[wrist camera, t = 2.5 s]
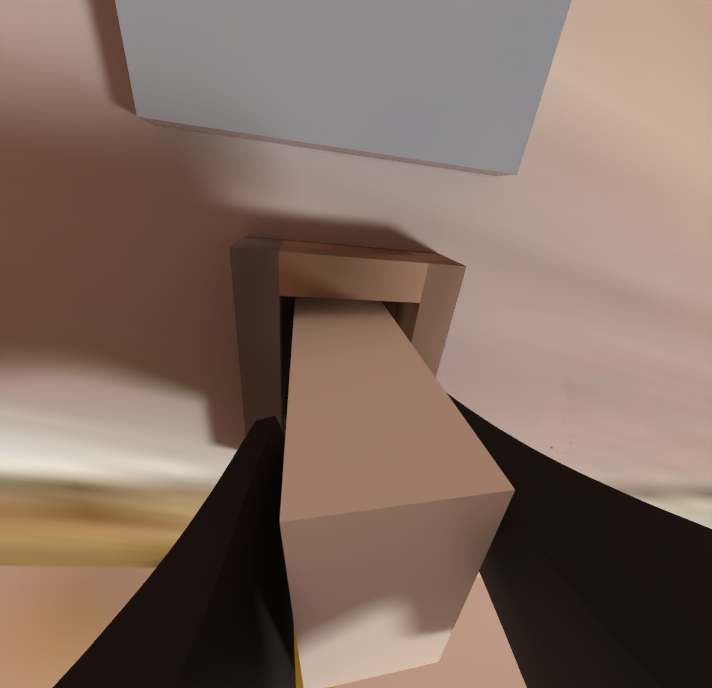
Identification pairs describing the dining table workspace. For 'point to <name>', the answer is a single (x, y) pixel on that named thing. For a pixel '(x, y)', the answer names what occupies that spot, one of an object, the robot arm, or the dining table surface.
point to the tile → (349, 74)
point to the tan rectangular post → (377, 497)
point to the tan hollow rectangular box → (330, 280)
